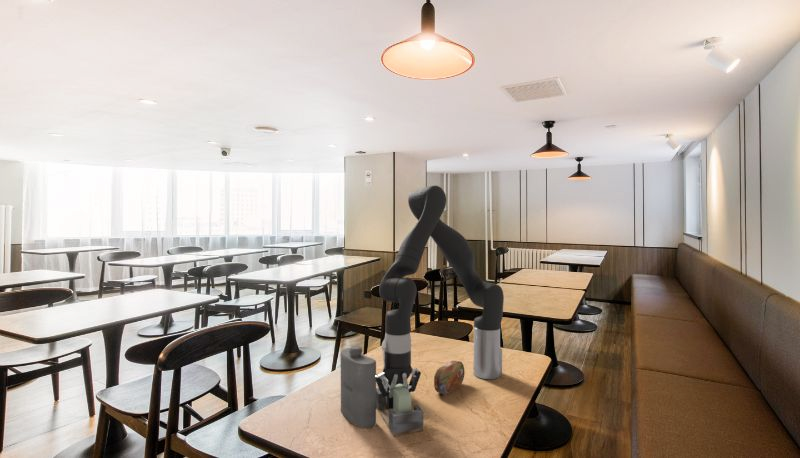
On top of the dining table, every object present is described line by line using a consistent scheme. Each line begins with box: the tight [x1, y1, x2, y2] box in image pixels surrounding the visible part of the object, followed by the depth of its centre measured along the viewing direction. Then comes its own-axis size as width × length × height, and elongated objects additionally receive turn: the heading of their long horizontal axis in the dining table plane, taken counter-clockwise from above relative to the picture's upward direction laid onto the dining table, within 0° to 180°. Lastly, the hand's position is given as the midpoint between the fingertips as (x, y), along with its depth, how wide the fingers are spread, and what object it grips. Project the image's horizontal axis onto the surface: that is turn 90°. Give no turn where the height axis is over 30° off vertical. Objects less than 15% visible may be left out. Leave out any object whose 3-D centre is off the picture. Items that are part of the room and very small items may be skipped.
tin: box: [433, 360, 465, 396], centre depth 127 cm, size 15×3×8 cm, turn 139°
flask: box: [340, 345, 377, 430], centre depth 109 cm, size 15×6×20 cm, turn 36°
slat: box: [386, 379, 412, 414], centre depth 109 cm, size 4×12×7 cm, turn 20°
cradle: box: [376, 387, 424, 437], centre depth 109 cm, size 8×17×5 cm, turn 20°
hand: (397, 407), depth 109 cm, fingers closed on slat, 3 cm apart
